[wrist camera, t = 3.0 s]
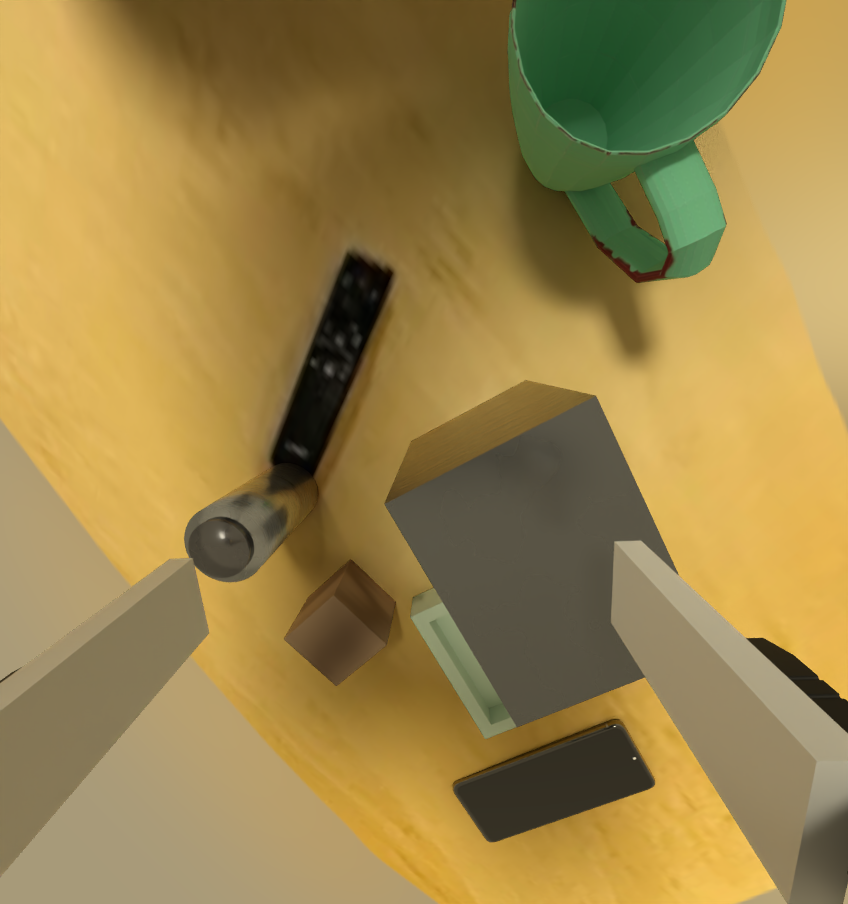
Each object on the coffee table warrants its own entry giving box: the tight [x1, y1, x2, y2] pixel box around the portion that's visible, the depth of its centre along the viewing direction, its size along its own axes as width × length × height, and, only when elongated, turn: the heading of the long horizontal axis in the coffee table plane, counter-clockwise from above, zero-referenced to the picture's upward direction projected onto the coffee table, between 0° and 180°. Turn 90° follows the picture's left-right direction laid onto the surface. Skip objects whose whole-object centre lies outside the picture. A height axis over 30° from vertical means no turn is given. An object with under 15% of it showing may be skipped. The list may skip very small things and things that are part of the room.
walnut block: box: [284, 560, 396, 686], centre depth 29 cm, size 5×5×5 cm
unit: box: [385, 380, 679, 727], centre depth 23 cm, size 12×10×13 cm
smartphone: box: [453, 720, 655, 842], centre depth 34 cm, size 7×1×16 cm
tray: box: [410, 588, 516, 739], centre depth 30 cm, size 12×12×2 cm
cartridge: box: [184, 463, 318, 582], centre depth 25 cm, size 4×4×10 cm
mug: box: [508, 0, 786, 283], centre depth 20 cm, size 15×10×10 cm
